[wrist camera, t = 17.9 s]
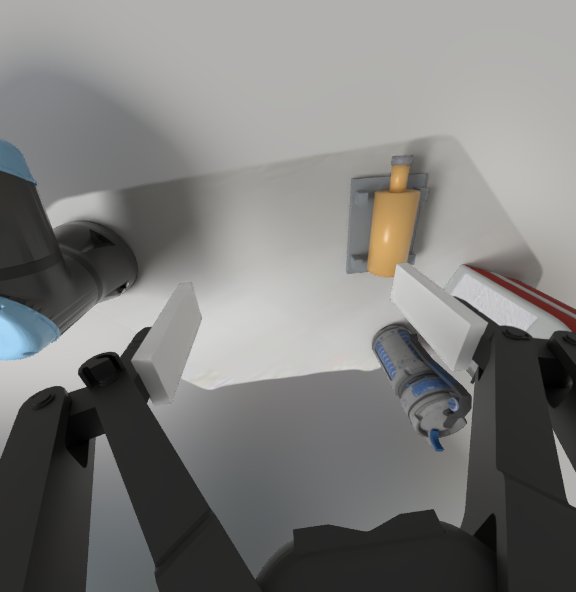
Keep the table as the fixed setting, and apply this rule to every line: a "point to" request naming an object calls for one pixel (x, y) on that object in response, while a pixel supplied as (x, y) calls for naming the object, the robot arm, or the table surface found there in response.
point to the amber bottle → (393, 221)
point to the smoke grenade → (421, 385)
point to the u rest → (363, 214)
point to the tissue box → (511, 303)
